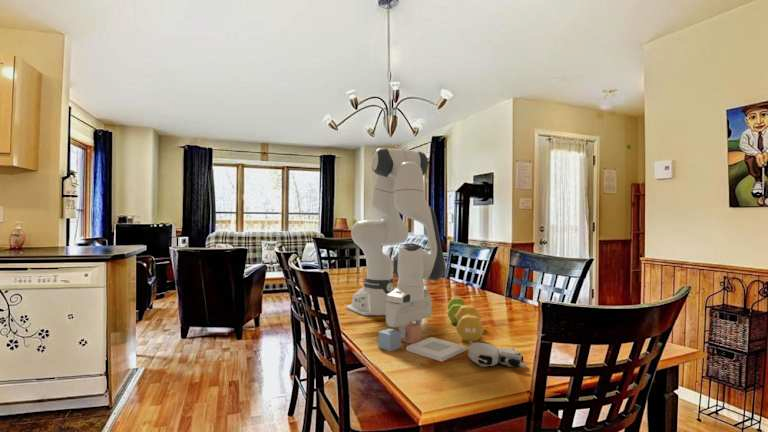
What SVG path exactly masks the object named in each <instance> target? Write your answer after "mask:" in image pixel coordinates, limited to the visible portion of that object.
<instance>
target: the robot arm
mask: <svg viewBox="0 0 768 432" xmlns="http://www.w3.org/2000/svg"><path fill="white" fill-rule="evenodd" d="M371 169H372V171H373V172H374V173H375V174H376V178H375V181H374V187H373V193H372V200H371V205H372V208H373V209H375V211H377V212H378V213H379V214H381V218H380V219H363V220H359V221H355V223H354V224H353V225H352V227H351V229H350V236H351V239H352V241H353V243H354V244H355V245H357V246H358V247H359V248H360V249H361V250H362V253H363V254H364V258H365V261H366V263H365V264H366V278H363V279H362V281H361V282H362V283H363V286H362V287H361V288H360V289H358V290H357V291H356V292H355V293H354V294H353V296H352V299H351V304H348V305H347V306H346V309H347V310H350V311H353V312H355V313H357V314H360V315H361V316H385V323H386V325H387V326H389V327H392V328H398V331H399V330H400V332H401V337H402V338H405V337H407V332H406V331H405V327H406V324H408V323H415V324H419V325H421V326H422V323H423V320H424V319H428V318H430V317H431V316H432V314H433V303H432V297H431V293H430V291H428V290H427V289H425V281H424V280H427V281H439V280H440V279H442V278H443V277H444V275H446V270H447V263H446V260H445V256H444V252H443V248H442V243H441V239H440V232H439V226H438V221H437V217H436V212H435V210H434V208H433V207H432V206H431V205H429V204H428V202H427V200H426V197H425V180H424V176H425V175H426V173H427V172H428V169H429V160H428V156H427V154H425V153H424V152H421V151H418V150H416V151H415V150H413V149H412V150H411V149H406V148H387V147H380V148H377V149H375V151H374V152H373V154H372V157H371ZM401 216H403V217H405V218H408V219H410V220H413V221H416V222H418V223H420V224H421V225H422V226H423V227H424V228H425V230H426V231H425V232H426V235H427V240H428V246H429V250H428V251H424V250H423V247H422V245H420V244H417V243H405V242H406V241H407V240H408V238H409V227H408V225H407V224H406V223H405V222H404V220H403V219H402V218H401ZM400 244H401V245H400ZM395 245H400V246H399V250H398V253H396V254H395V255H394V256H393V257H392V258H391V256H389V255H387V254H386V253H384V252H383V249H382V246H395ZM394 275H395V276H396V277H397V278H398V279H397V283H396V287H395V278H393V277H394ZM394 287H395V288H394Z"/></svg>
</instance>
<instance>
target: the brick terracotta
mask: <svg viewBox="0 0 768 432" xmlns="http://www.w3.org/2000/svg"><path fill="white" fill-rule="evenodd" d="M398 331H400V330H399V329H398ZM405 331H406V332H407V337H405V338H402V337H401V342H405V343H408V344H414V343H417V342H420V341H422V339H421V338H422V337H421V336H422V335H421V334H422V324H421V325H419V324H415V322H411V323H408V324H406V327H405Z"/></svg>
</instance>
